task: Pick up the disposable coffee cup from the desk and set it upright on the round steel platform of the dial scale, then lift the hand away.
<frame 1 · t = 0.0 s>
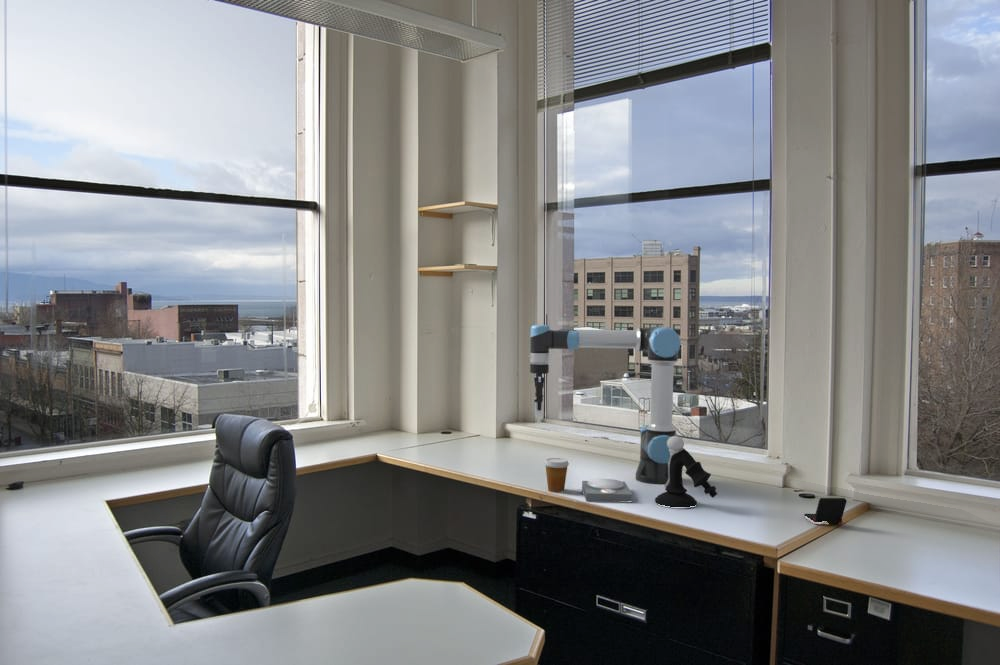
hand: (538, 416, 303), 28 cm above the table, tool pointing down, fingers open, 13 cm apart
dial scale: (605, 494, 290), on the table
sculpture: (686, 506, 276), on the table
handheld gaming console: (824, 523, 256), on the table
disposable coffee cup: (556, 490, 295), on the table
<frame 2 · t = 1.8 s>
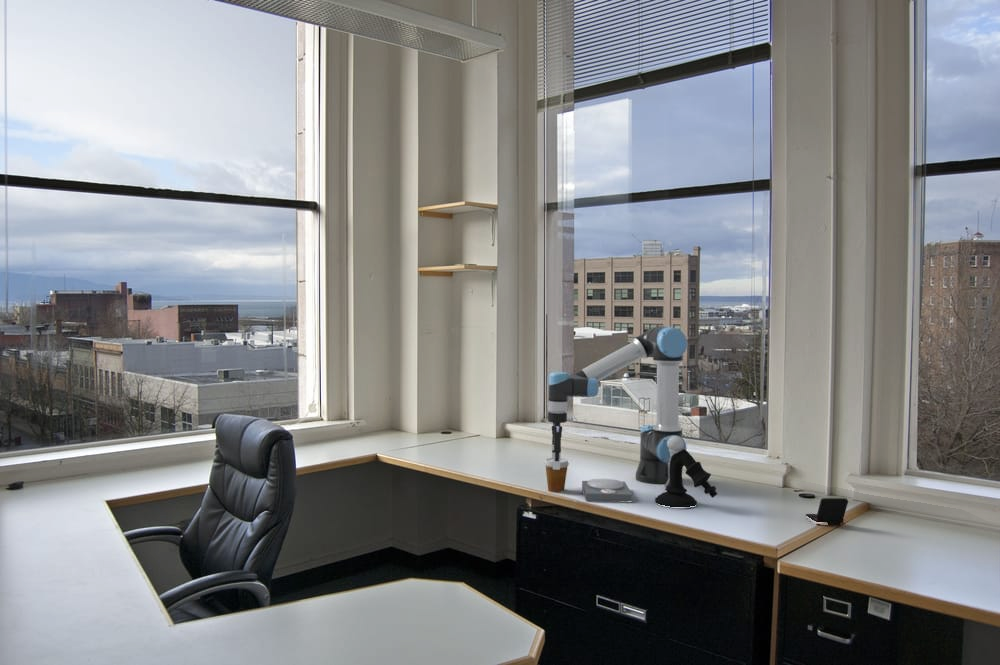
hand: (555, 465, 295), 10 cm above the table, tool pointing down, fingers open, 13 cm apart
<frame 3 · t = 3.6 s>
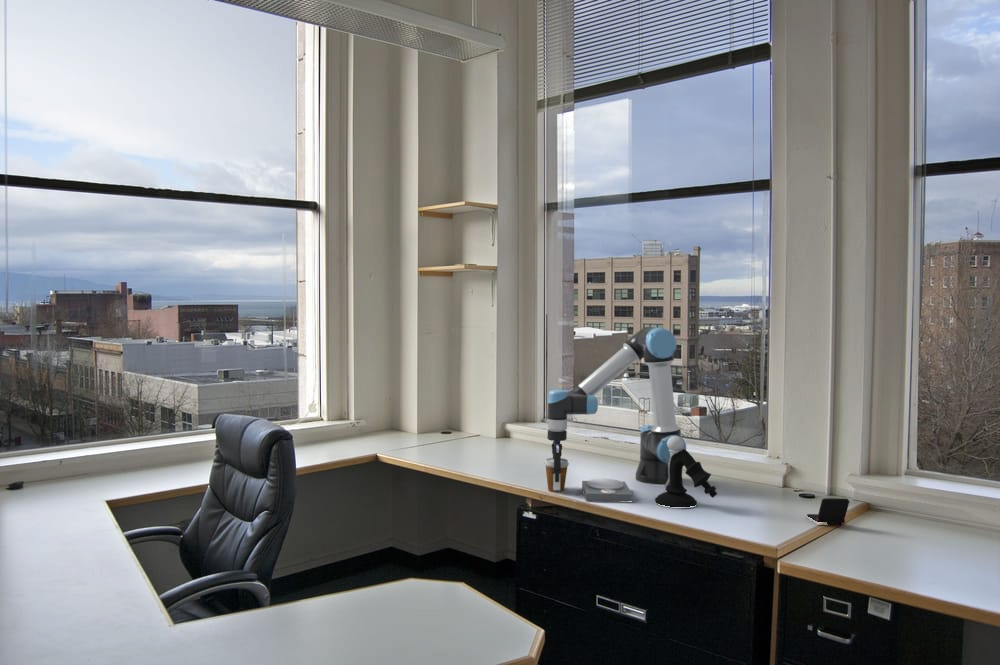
hand: (556, 487, 295), 1 cm above the table, tool pointing down, fingers closed on disposable coffee cup, 8 cm apart
disposable coffee cup: (556, 490, 295), on the table, touching gripper
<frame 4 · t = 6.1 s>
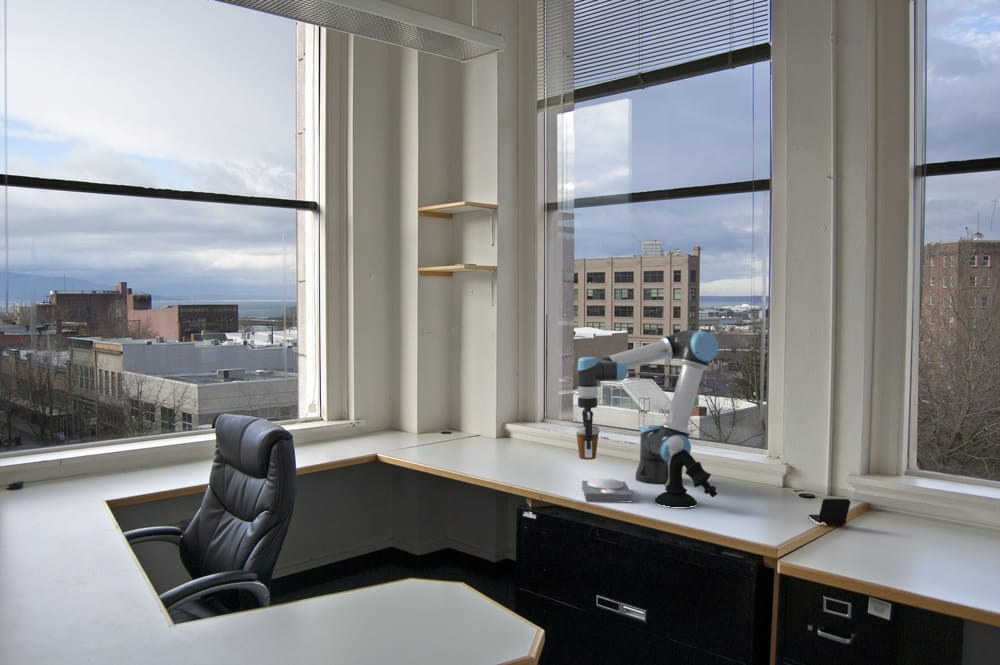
hand: (587, 454, 293), 15 cm above the table, tool pointing down, fingers closed on disposable coffee cup, 8 cm apart
disposable coffee cup: (587, 458, 293), point 13 cm above the table, touching gripper
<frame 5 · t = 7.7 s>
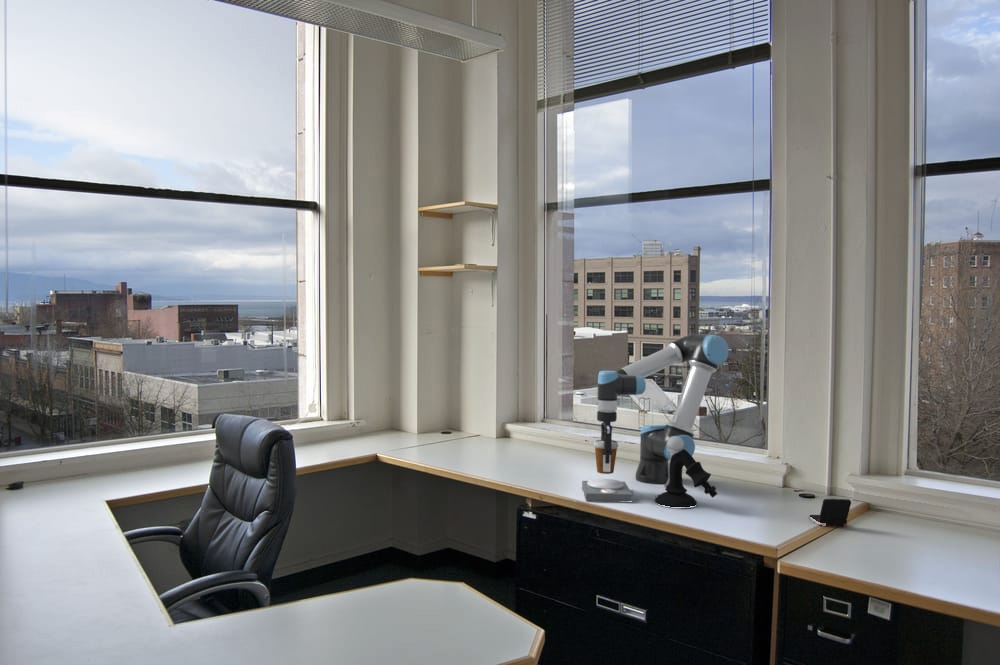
hand: (605, 468, 292), 9 cm above the table, tool pointing down, fingers closed on disposable coffee cup, 8 cm apart
disposable coffee cup: (605, 472, 292), point 8 cm above the table, touching gripper
when the fingers open (7 cm above the table, at t = 9.0 s): disposable coffee cup drops 1 cm, point 4 cm above the table.
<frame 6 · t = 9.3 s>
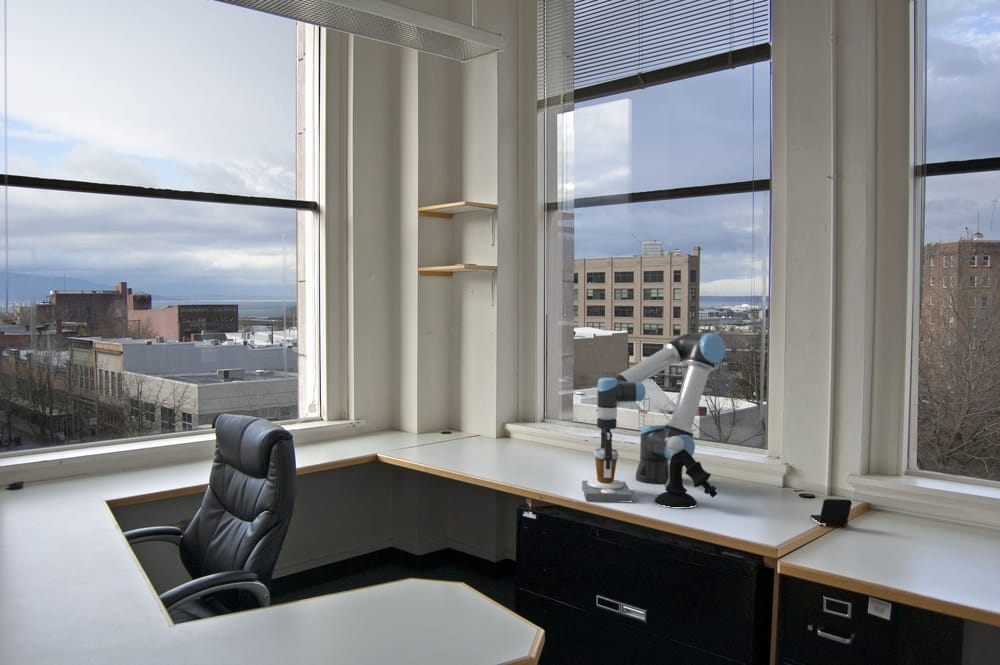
hand: (605, 473, 292), 8 cm above the table, tool pointing down, fingers open, 11 cm apart
disposable coffee cup: (605, 481, 294), point 4 cm above the table, touching gripper
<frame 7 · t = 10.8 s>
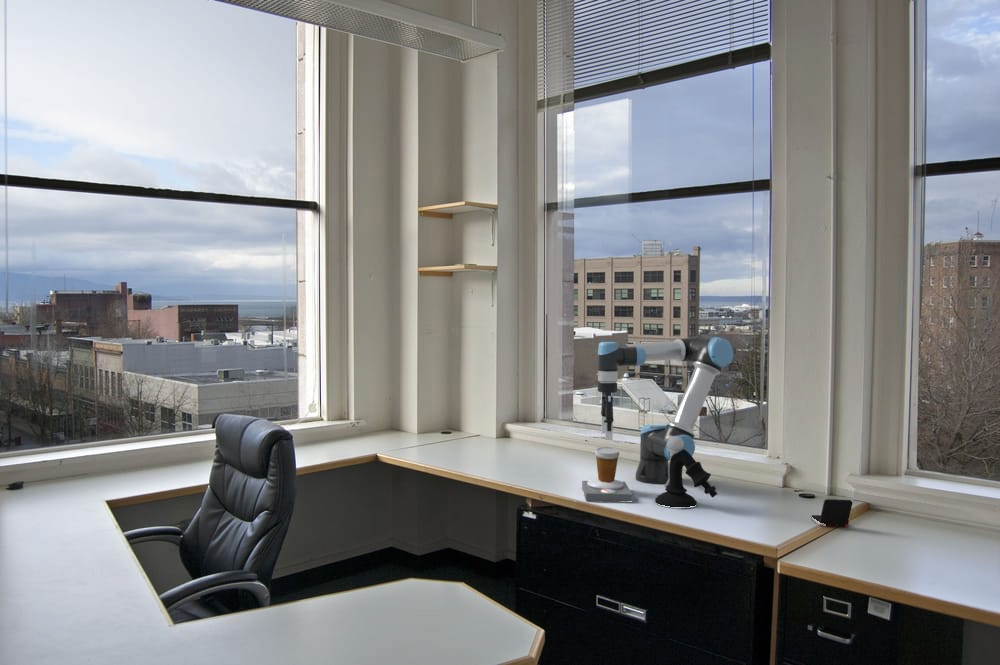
hand: (606, 436, 291), 22 cm above the table, tool pointing down, fingers open, 13 cm apart
disposable coffee cup: (606, 480, 296), point 4 cm above the table, touching dial scale
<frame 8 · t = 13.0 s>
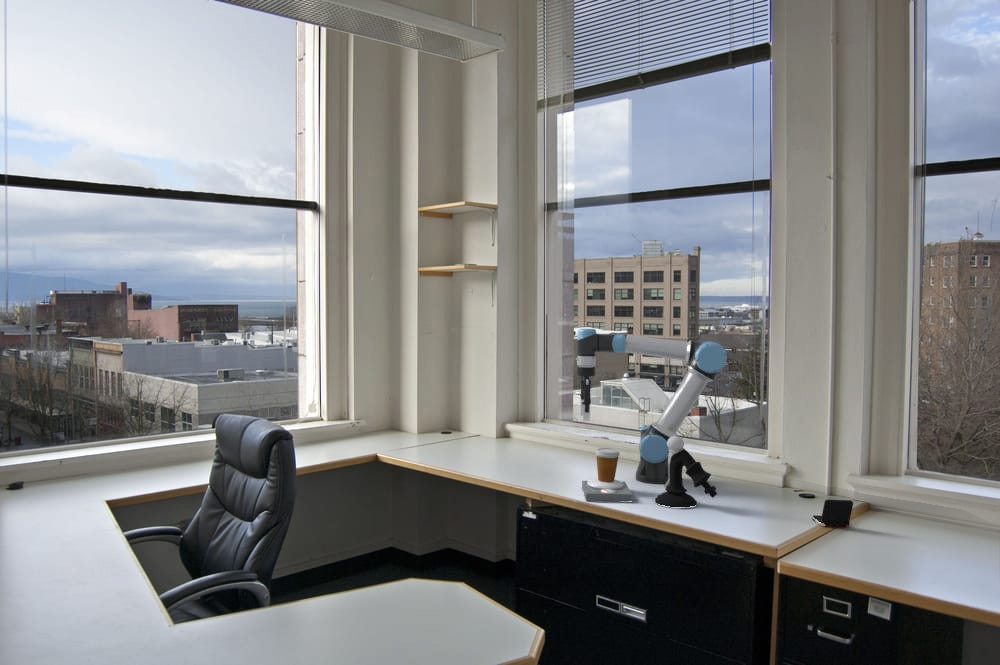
hand: (585, 418, 308), 27 cm above the table, tool pointing down, fingers open, 13 cm apart
at the end: disposable coffee cup inside the target area on the dial scale (4.1 cm from its centre), point 4.0 cm above the dial scale's base; disposable coffee cup tilted 4°; the gripper is holding nothing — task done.
